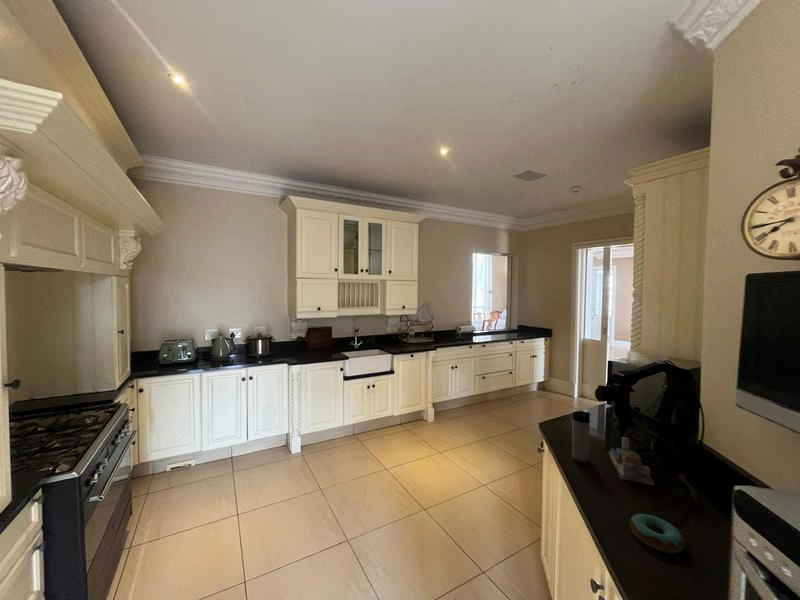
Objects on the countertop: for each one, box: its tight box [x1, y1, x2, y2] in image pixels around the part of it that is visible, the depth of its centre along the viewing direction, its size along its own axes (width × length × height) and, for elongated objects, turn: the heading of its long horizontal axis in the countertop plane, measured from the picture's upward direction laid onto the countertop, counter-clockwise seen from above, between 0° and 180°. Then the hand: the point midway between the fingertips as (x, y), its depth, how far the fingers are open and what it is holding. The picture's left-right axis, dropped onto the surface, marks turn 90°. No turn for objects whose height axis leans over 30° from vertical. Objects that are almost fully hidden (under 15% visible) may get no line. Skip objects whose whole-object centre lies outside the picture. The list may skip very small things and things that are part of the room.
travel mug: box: [571, 410, 592, 464], centre depth 130 cm, size 6×7×20 cm
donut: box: [629, 513, 685, 554], centre depth 88 cm, size 12×12×4 cm
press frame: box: [608, 447, 655, 486], centre depth 124 cm, size 10×20×6 cm, turn 157°
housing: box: [622, 451, 642, 465], centre depth 122 cm, size 5×5×5 cm
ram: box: [615, 436, 636, 461], centre depth 128 cm, size 6×5×8 cm
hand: (621, 436), depth 136 cm, fingers closed
